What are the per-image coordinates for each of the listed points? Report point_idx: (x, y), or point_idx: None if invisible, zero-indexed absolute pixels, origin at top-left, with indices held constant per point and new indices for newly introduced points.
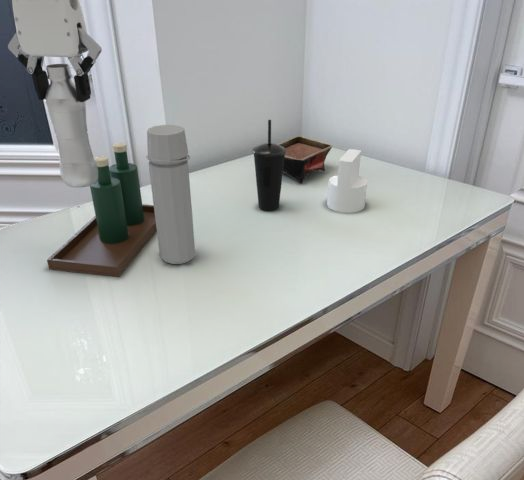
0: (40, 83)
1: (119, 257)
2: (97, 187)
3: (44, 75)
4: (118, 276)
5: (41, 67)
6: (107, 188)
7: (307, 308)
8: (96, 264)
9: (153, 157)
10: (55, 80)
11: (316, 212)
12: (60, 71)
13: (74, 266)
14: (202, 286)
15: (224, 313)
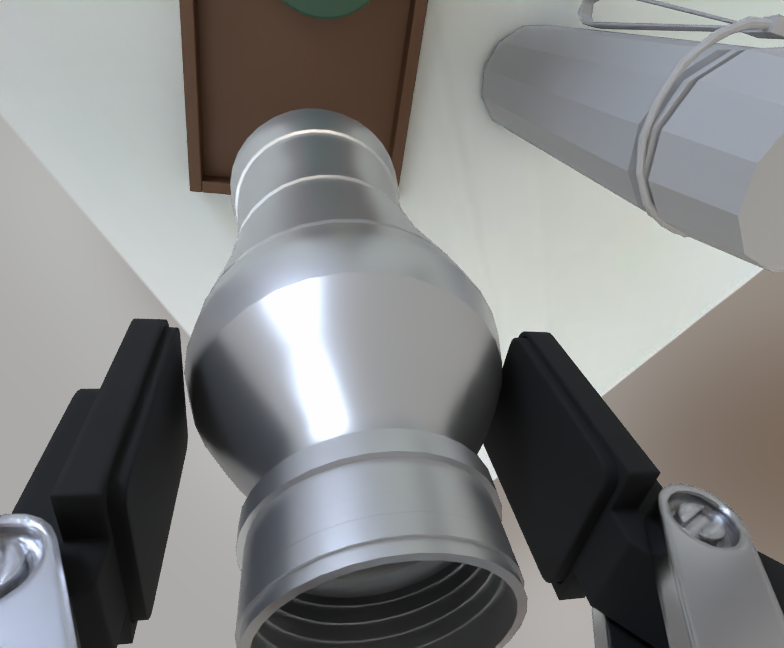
0: (162, 527)
1: (369, 110)
2: (311, 13)
3: (142, 508)
4: None
5: (89, 593)
6: (355, 10)
7: (746, 267)
8: None
9: (672, 225)
10: (356, 573)
11: None
12: (439, 640)
13: None
14: (577, 217)
15: (607, 300)
